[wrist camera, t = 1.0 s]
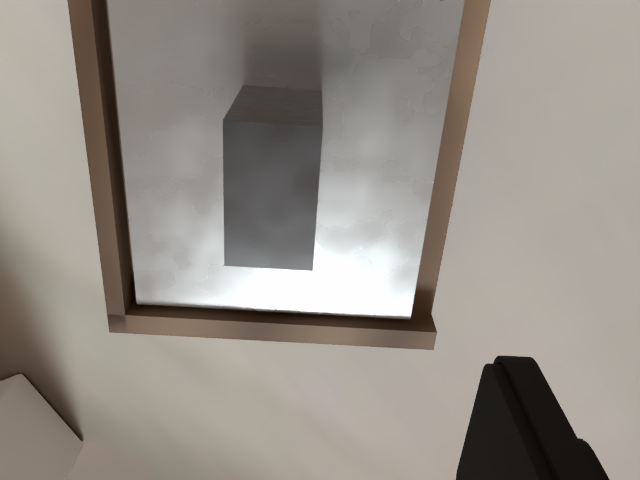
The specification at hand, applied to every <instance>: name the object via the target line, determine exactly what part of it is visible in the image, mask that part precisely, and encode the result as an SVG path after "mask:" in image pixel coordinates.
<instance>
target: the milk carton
mask: <svg viewBox="0 0 640 480" xmlns="http://www.w3.org/2000/svg"><path fill="white" fill-rule="evenodd" d="M82 448H83V443H82V442H81V440H80V439H79V438H78V437H77V436H76V435H75V433H74V432H73V431H72V430H71V429H70V428H69V427H68V425H67V424H66V423H65V422H64V421H63V420H62V419H61V418H60V416H59V415H58V414H57V413H56V412H55V411H54V410H53V408H52V407H51V406H50V405H49V404H48V403H47V402H46V400H45V399H44V398H43V397H42V396H41V395H40V394H39V392H38V391H37V390H36V389H35V388H34V387H33V386H32V384H31V383H30V382H29V381H28V380H27V379H26V378H25V377H24V376H23V375H22V374H18V375H15V376H12V377H10V378H7V379H5V380H2V381H0V480H67V479H68V477H69V475H70V473H71V471H72V469H73V467H74V465H75V462H76V460H77V458H78V456H79V454H80V452H81V450H82Z"/></svg>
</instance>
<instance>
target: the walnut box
mask: <svg viewBox="0 0 640 480" xmlns="http://www.w3.org/2000/svg"><path fill="white" fill-rule="evenodd" d="M490 2H491V0H465V2H464V8H463V14H462V19H461V25H460V31H459V37H458V43H457V49H456V55H455V60H454V66H453V72H452V78H451V84H450V90H449V96H448V102H447V107H446V113H445V119H444V125H443V131H442V137H441V143H440V148H439V154H438V160H437V166H436V172H435V178H434V184H433V189H432V195H431V201H430V207H429V213H428V219H427V225H426V231H425V236H424V242H423V248H422V254H421V260H420V266H419V272H418V277H417V283H416V289H415V295H414V301H413V307H412V313H411V318H410V319H394V318H377V317H359V316H341V315H323V314H306V313H288V312H270V311H252V310H234V309H217V308H199V307H181V306H163V305H145V304H137V302H136V292H135V281H134V271H133V260H132V250H131V240H130V229H129V219H128V209H127V198H126V188H125V178H124V167H123V157H122V146H121V136H120V126H119V115H118V105H117V95H116V84H115V74H114V63H113V53H112V43H111V32H110V22H109V12H108V1H107V0H68V8H69V16H70V23H71V31H72V39H73V47H74V55H75V63H76V71H77V79H78V87H79V95H80V103H81V111H82V118H83V126H84V134H85V142H86V150H87V158H88V166H89V174H90V182H91V190H92V198H93V206H94V214H95V221H96V229H97V237H98V245H99V253H100V261H101V269H102V277H103V285H104V293H105V301H106V309H107V317H108V324H109V332H114V333H132V334H150V335H168V336H187V337H205V338H223V339H242V340H260V341H278V342H297V343H315V344H333V345H352V346H370V347H388V348H407V349H425V350H434V345H435V340H436V335H437V331H436V328H435V325H434V321H433V318H432V315H431V312H432V307H433V302H434V296H435V291H436V286H437V281H438V275H439V270H440V265H441V260H442V254H443V249H444V244H445V238H446V233H447V228H448V223H449V217H450V212H451V207H452V202H453V196H454V191H455V186H456V181H457V175H458V170H459V165H460V160H461V154H462V149H463V144H464V138H465V133H466V128H467V123H468V117H469V112H470V107H471V102H472V96H473V91H474V86H475V81H476V75H477V70H478V65H479V59H480V54H481V49H482V44H483V38H484V33H485V28H486V23H487V17H488V12H489V7H490Z"/></svg>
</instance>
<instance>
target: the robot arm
mask: <svg viewBox="0 0 640 480" xmlns="http://www.w3.org/2000/svg"><path fill="white" fill-rule="evenodd" d="M456 480H609V478H608V476H607V474H606V473H605V471H604V469H603V467H602V465H601V464H600V462H599V460H598V458H597V456H596V455H595V453H594V451H593V450H592V448H591V447H590V446H589V444H588V443H587V442H585V441H584V440H583V439H578V438H577V436H576V435H575V433H574V431H573V429H572V427H571V425H570V424H569V422H568V420H567V418H566V416H565V414H564V412H563V411H562V409H561V407H560V405H559V403H558V401H557V399H556V398H555V396H554V394H553V392H552V390H551V388H550V387H549V385H548V383H547V381H546V379H545V377H544V375H543V374H542V372H541V370H540V368H539V366H538V364H537V363H536V361H535V360H534V359H533V358H531V357H517V356H497V357H496V359H495V360H494V363H493V364H486V365H485V366H484V368H483V371H482V375H481V379H480V383H479V387H478V391H477V395H476V399H475V403H474V407H473V411H472V414H471V418H470V422H469V426H468V430H467V434H466V438H465V442H464V446H463V450H462V454H461V458H460V462H459V465H458V469H457V475H456Z"/></svg>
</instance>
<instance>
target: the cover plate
mask: <svg viewBox="0 0 640 480" xmlns="http://www.w3.org/2000/svg"><path fill="white" fill-rule="evenodd" d="M107 1H108V12H109V22H110V32H111V43H112V53H113V63H114V74H115V84H116V95H117V105H118V115H119V126H120V136H121V146H122V157H123V167H124V178H125V188H126V198H127V209H128V219H129V229H130V240H131V250H132V260H133V271H134V281H135V292H136V302H137V304H145V305H163V306H181V307H199V308H217V309H234V310H252V311H270V312H288V313H306V314H323V315H341V316H359V317H377V318H394V319H410V318H411V313H412V307H413V301H414V295H415V289H416V283H417V277H418V272H419V266H420V260H421V254H422V248H423V242H424V236H425V231H426V225H427V219H428V213H429V207H430V201H431V195H432V189H433V184H434V178H435V172H436V166H437V160H438V154H439V148H440V143H441V137H442V131H443V125H444V119H445V113H446V107H447V102H448V96H449V90H450V84H451V78H452V72H453V66H454V60H455V55H456V49H457V43H458V37H459V31H460V25H461V19H462V14H463V8H464V2H465V0H107Z"/></svg>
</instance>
